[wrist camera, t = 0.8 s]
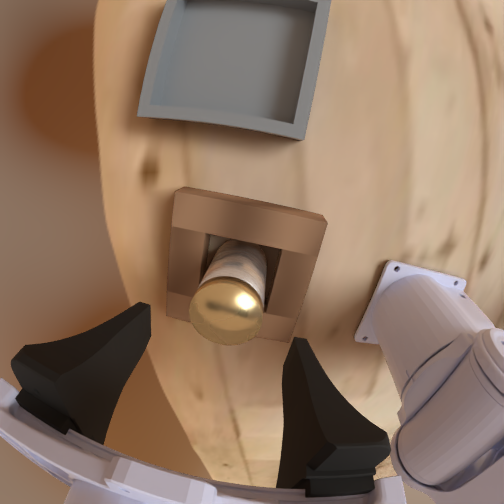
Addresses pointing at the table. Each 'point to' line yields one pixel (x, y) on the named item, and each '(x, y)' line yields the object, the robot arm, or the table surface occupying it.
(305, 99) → the tray
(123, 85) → the table surface
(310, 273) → the block
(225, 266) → the gold and silver cylinder
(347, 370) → the table surface
